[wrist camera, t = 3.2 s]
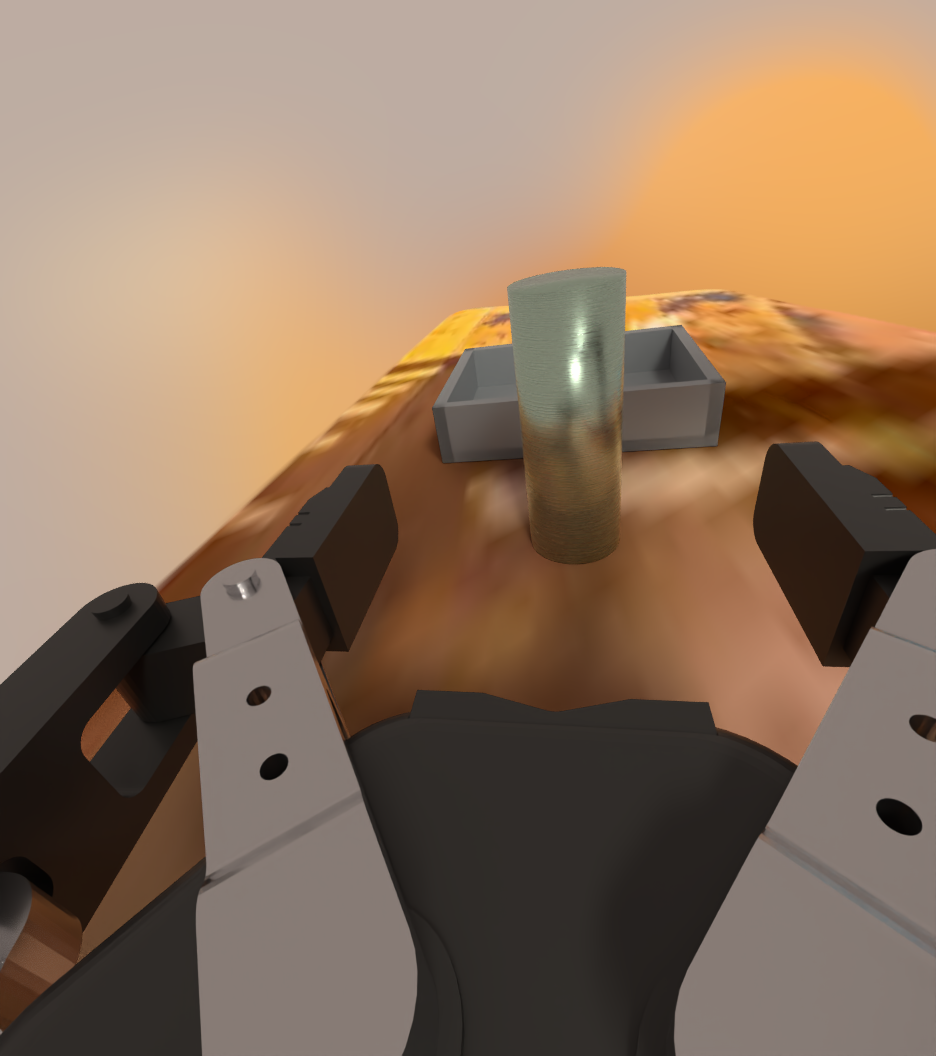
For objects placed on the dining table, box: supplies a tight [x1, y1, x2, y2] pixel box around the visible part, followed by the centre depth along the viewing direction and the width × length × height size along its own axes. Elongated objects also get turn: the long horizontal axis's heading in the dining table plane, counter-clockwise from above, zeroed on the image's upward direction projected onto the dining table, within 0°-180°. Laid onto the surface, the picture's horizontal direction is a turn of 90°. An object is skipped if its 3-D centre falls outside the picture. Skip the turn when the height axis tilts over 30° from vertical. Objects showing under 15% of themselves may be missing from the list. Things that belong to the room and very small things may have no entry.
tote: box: [432, 325, 726, 463], centre depth 37 cm, size 18×14×4 cm
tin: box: [507, 267, 626, 564], centre depth 22 cm, size 4×4×12 cm
